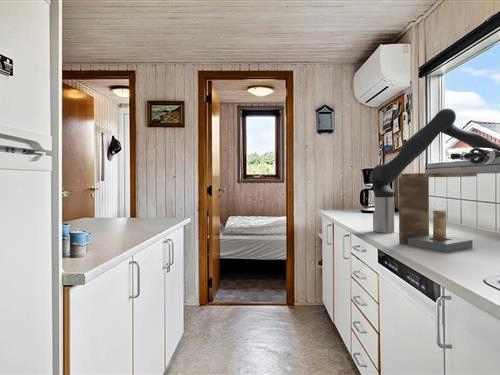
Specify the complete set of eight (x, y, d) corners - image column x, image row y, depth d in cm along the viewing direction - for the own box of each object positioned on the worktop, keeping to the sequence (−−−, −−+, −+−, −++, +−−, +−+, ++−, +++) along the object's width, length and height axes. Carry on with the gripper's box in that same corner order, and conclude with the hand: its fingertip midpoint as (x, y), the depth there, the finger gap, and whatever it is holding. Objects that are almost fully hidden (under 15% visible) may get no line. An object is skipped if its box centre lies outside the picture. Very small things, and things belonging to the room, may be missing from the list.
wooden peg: (430, 246, 147) (430, 210, 146) (437, 245, 149) (437, 210, 148) (441, 248, 143) (441, 211, 142) (448, 247, 145) (448, 210, 145)
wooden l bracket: (399, 243, 154) (398, 173, 153) (424, 240, 162) (424, 173, 161) (450, 252, 135) (450, 172, 134) (476, 248, 142) (476, 172, 142)
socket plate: (408, 245, 149) (408, 238, 149) (433, 241, 157) (433, 234, 157) (446, 252, 135) (446, 244, 135) (472, 247, 143) (472, 240, 143)
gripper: (466, 149, 180) (445, 148, 172) (498, 146, 168) (477, 145, 160) (466, 164, 180) (445, 164, 173) (498, 163, 168) (477, 163, 160)
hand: (460, 155), depth 166 cm, fingers open, 8 cm apart
